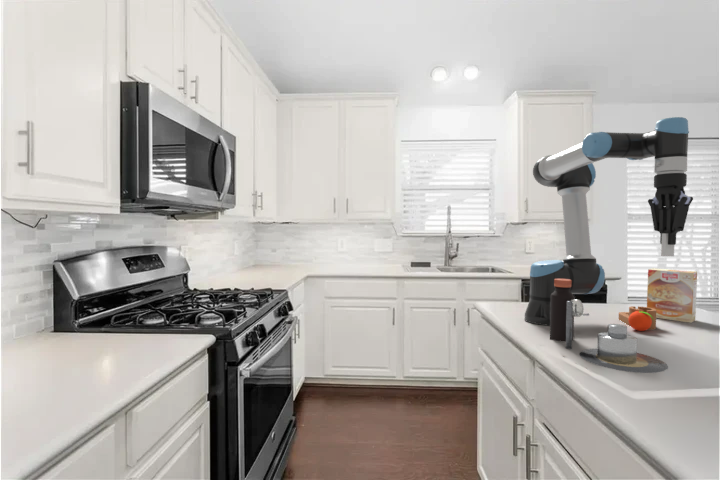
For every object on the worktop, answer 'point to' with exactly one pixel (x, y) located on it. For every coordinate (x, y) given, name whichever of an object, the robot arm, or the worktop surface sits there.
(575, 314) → the dial gauge stand
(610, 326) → the cover
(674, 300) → the coffeecake box
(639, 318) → the clementine
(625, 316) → the bracket
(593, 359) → the grey plate
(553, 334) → the bottle
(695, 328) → the worktop surface
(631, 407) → the worktop surface
